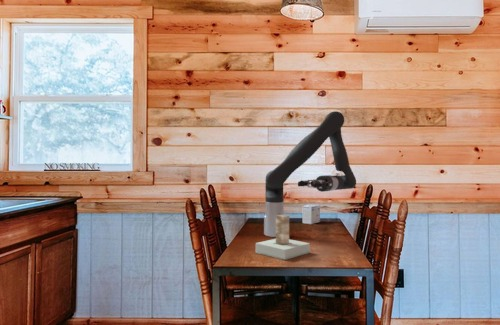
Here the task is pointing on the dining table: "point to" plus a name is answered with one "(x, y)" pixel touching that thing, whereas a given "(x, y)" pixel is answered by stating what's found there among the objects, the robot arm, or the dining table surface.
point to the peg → (282, 230)
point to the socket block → (282, 249)
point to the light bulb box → (311, 214)
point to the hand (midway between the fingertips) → (306, 184)
